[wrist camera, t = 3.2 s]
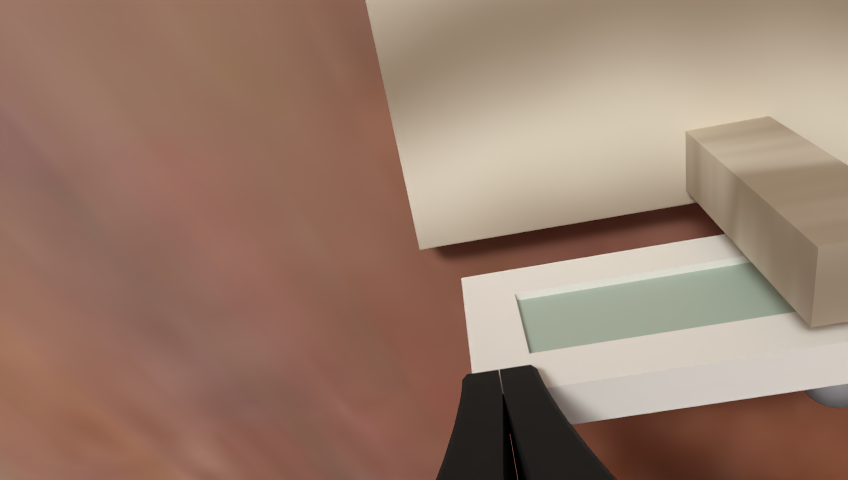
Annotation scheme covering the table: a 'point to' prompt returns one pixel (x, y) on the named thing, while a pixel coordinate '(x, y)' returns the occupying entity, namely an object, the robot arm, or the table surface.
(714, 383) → the frame
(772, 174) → the easel stand
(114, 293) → the table surface
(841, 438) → the table surface
